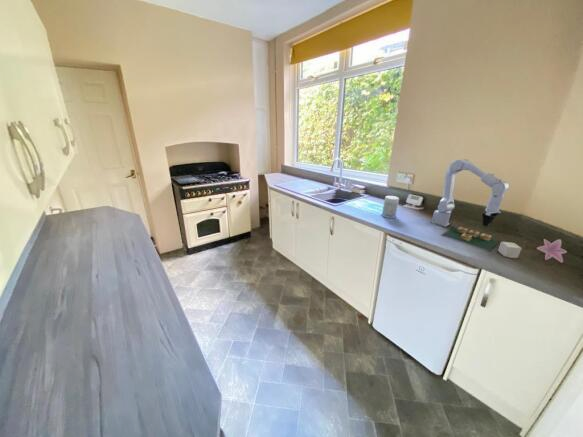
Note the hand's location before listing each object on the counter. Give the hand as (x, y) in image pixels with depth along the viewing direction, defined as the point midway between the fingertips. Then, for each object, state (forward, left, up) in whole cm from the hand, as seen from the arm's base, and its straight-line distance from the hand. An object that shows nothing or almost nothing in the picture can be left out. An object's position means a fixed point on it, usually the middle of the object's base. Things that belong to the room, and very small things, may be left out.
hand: (486, 224), depth 140 cm
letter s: (+2, -1, -9) cm, 9 cm away
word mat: (-4, -7, -9) cm, 12 cm away
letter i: (-10, -1, -9) cm, 14 cm away
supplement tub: (-54, -13, -9) cm, 57 cm away
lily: (+29, 0, -9) cm, 30 cm away
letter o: (-5, -11, -9) cm, 15 cm away
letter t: (-4, -1, -9) cm, 10 cm away
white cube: (+15, -14, -9) cm, 22 cm away
